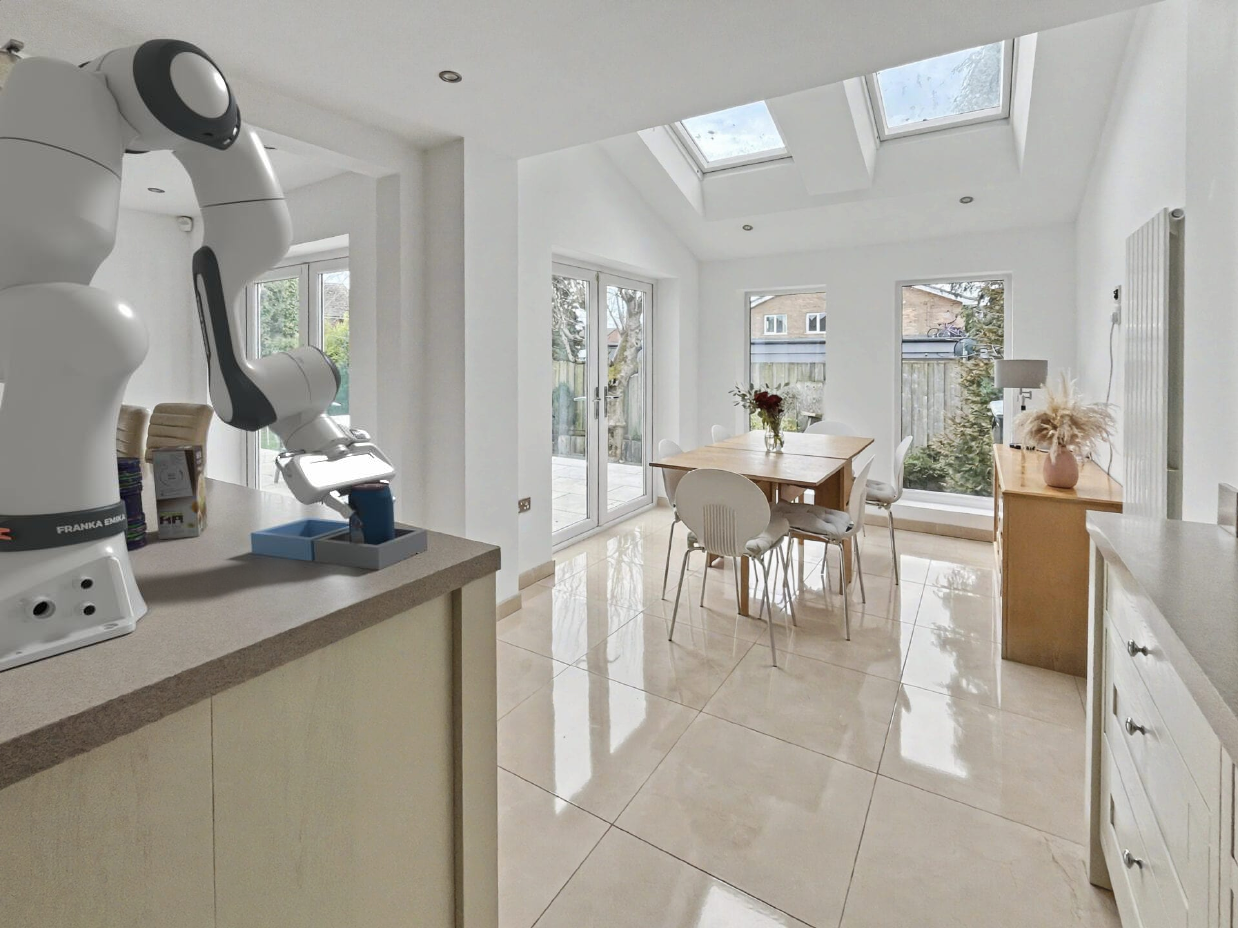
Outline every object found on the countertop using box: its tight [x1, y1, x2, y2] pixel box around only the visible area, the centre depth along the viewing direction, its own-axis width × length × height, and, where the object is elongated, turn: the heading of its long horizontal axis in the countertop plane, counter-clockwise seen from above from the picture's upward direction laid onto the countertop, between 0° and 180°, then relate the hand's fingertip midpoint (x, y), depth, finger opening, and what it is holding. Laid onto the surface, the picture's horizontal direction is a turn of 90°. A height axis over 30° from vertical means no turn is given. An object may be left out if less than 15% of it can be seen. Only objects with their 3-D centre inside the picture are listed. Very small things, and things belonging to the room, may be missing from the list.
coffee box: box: [151, 444, 209, 540], centre depth 116 cm, size 9×6×16 cm
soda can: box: [347, 482, 395, 545], centre depth 103 cm, size 7×7×12 cm
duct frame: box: [250, 517, 428, 571], centre depth 106 cm, size 12×25×4 cm, turn 72°
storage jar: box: [117, 456, 148, 553], centre depth 105 cm, size 10×10×15 cm
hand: (372, 509), depth 103 cm, fingers open, 8 cm apart
